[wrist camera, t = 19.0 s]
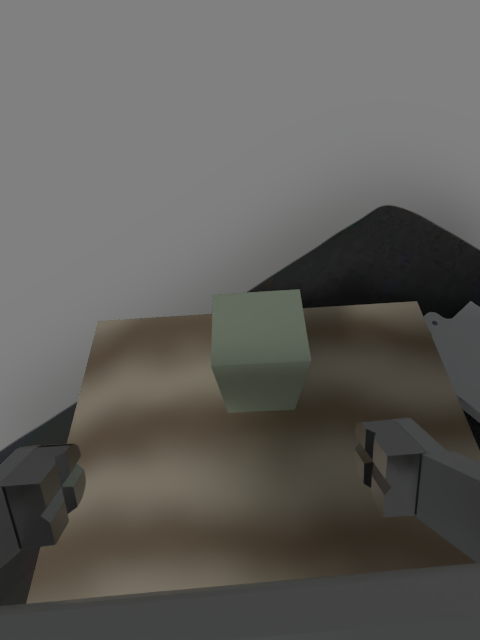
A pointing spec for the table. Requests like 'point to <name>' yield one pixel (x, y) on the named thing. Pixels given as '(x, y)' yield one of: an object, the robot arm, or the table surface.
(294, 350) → the sage wooden block
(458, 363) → the mounting plate
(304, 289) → the table surface
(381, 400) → the wood grain stool
